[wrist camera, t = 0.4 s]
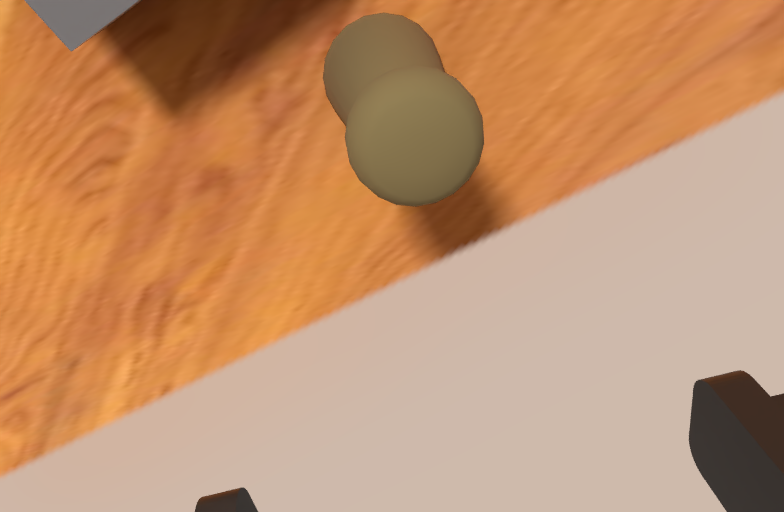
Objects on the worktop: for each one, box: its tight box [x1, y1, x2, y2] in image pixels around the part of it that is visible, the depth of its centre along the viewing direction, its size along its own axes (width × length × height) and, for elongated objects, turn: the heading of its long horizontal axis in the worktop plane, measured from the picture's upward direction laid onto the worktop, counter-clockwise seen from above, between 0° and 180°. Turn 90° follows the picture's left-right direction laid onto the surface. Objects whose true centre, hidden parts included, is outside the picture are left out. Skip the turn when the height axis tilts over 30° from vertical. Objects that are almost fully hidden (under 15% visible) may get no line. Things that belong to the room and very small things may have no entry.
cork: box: [323, 13, 484, 206], centre depth 26 cm, size 6×6×11 cm
